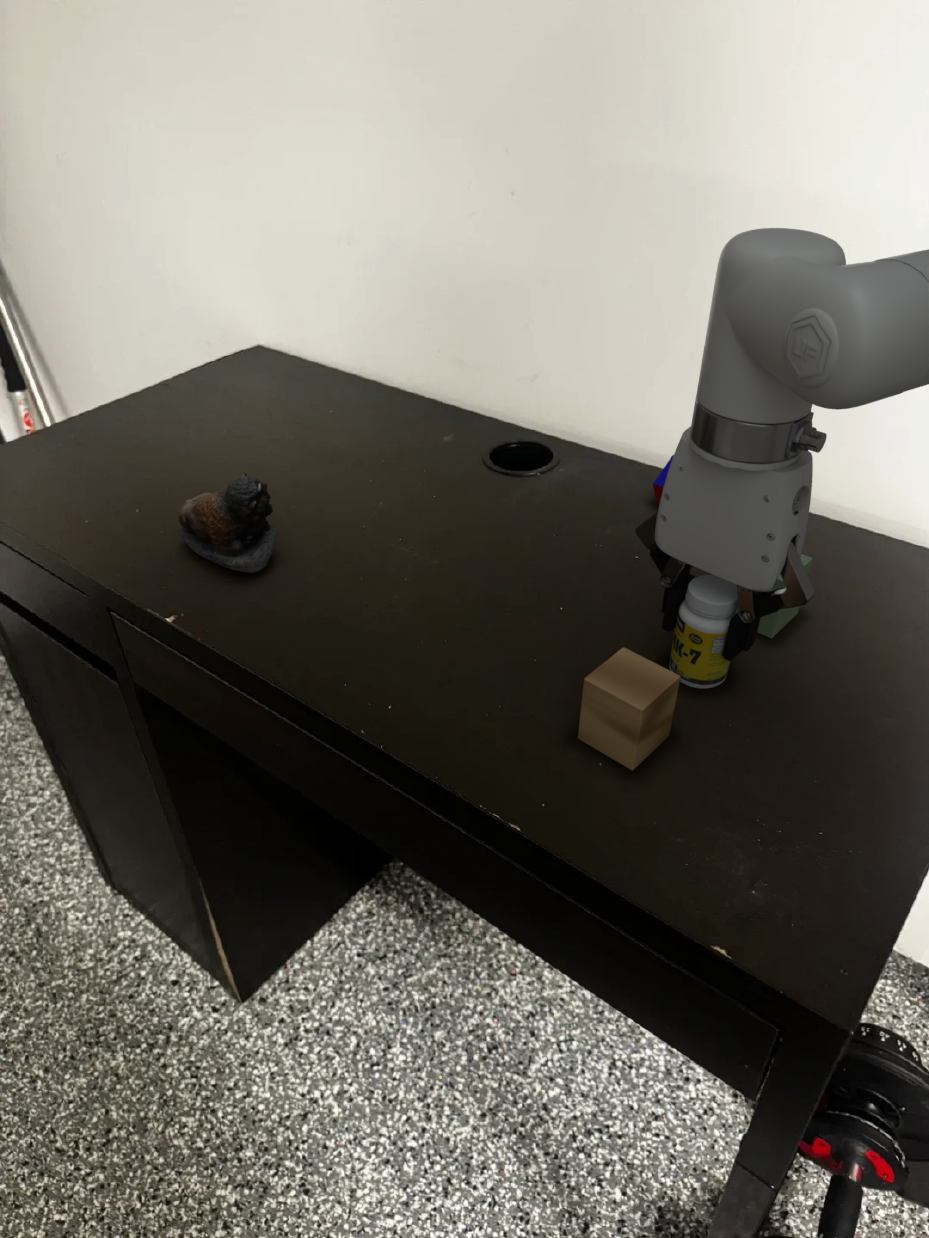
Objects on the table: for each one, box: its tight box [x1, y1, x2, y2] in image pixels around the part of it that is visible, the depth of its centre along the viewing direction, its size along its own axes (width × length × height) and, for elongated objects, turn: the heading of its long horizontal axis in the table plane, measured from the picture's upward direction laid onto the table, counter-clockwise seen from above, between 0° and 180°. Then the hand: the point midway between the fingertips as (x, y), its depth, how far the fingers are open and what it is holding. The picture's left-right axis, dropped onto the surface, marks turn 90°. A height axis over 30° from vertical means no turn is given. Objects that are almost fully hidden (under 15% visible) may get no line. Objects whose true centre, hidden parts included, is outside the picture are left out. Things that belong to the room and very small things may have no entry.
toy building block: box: [652, 454, 674, 505], centre depth 94 cm, size 4×4×8 cm
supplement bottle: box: [668, 574, 738, 689], centre depth 71 cm, size 5×5×8 cm
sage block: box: [757, 553, 813, 639], centre depth 78 cm, size 5×5×6 cm
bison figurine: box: [177, 472, 278, 574], centre depth 85 cm, size 12×7×10 cm, turn 50°
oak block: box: [577, 646, 681, 771], centre depth 66 cm, size 5×5×6 cm
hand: (705, 635), depth 72 cm, fingers closed on supplement bottle, 4 cm apart
